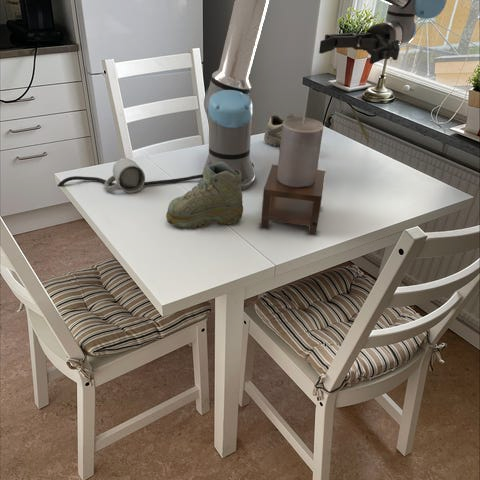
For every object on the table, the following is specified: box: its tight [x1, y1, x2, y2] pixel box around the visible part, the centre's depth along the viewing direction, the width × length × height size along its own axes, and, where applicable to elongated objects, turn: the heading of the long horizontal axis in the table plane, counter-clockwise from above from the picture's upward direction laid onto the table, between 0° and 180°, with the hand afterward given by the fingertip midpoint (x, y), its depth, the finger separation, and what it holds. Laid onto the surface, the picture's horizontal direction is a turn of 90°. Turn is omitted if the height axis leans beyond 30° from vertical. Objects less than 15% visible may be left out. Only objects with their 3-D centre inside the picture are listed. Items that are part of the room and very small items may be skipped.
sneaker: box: [165, 162, 244, 229], centre depth 125 cm, size 11×19×15 cm, turn 88°
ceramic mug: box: [103, 157, 146, 194], centre depth 140 cm, size 11×8×8 cm
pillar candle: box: [277, 116, 324, 187], centre depth 121 cm, size 10×10×15 cm
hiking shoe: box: [263, 113, 297, 147], centre depth 168 cm, size 9×21×12 cm, turn 50°
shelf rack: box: [260, 164, 326, 236], centre depth 130 cm, size 14×15×11 cm
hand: (345, 52), depth 121 cm, fingers open, 13 cm apart
